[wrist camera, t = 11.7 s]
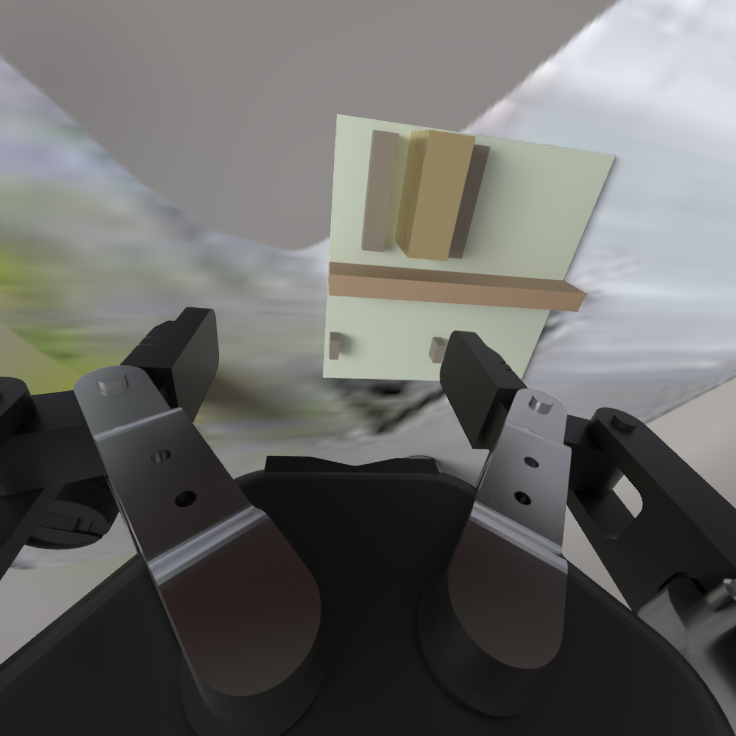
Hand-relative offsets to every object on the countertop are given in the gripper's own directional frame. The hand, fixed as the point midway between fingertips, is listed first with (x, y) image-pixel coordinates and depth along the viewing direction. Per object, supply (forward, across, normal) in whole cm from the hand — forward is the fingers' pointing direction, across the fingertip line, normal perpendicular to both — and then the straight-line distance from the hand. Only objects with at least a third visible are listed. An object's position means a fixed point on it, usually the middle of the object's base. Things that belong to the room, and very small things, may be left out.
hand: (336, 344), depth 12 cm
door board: (+26, -14, +5) cm, 29 cm away
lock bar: (+25, -8, -3) cm, 26 cm away
